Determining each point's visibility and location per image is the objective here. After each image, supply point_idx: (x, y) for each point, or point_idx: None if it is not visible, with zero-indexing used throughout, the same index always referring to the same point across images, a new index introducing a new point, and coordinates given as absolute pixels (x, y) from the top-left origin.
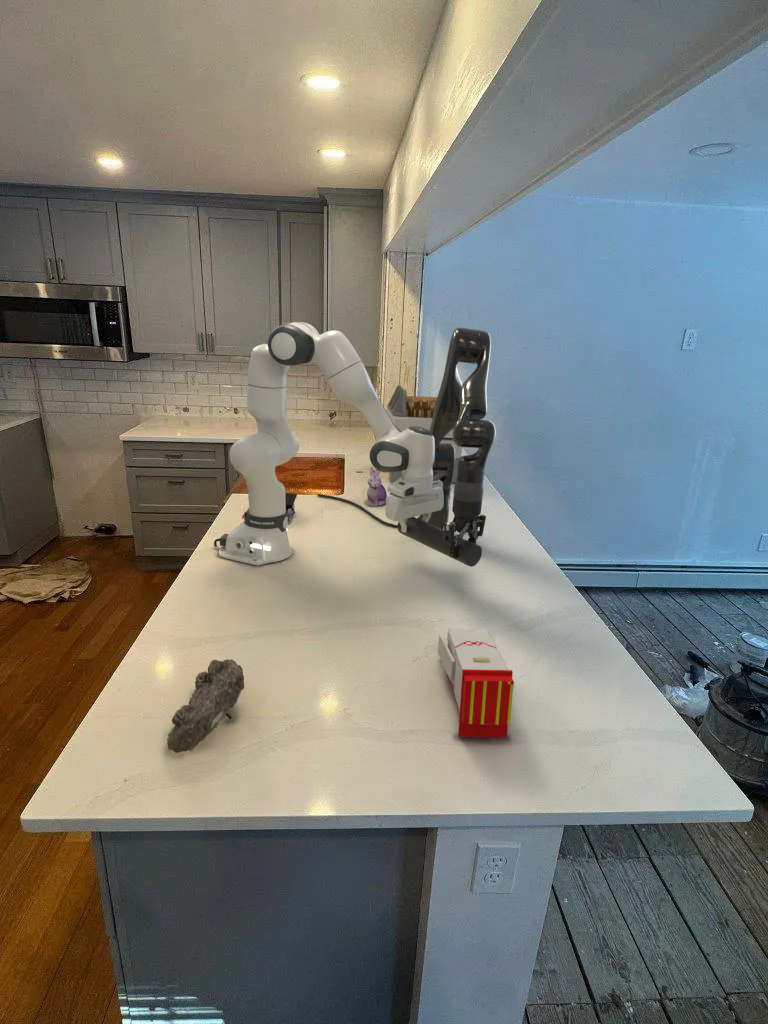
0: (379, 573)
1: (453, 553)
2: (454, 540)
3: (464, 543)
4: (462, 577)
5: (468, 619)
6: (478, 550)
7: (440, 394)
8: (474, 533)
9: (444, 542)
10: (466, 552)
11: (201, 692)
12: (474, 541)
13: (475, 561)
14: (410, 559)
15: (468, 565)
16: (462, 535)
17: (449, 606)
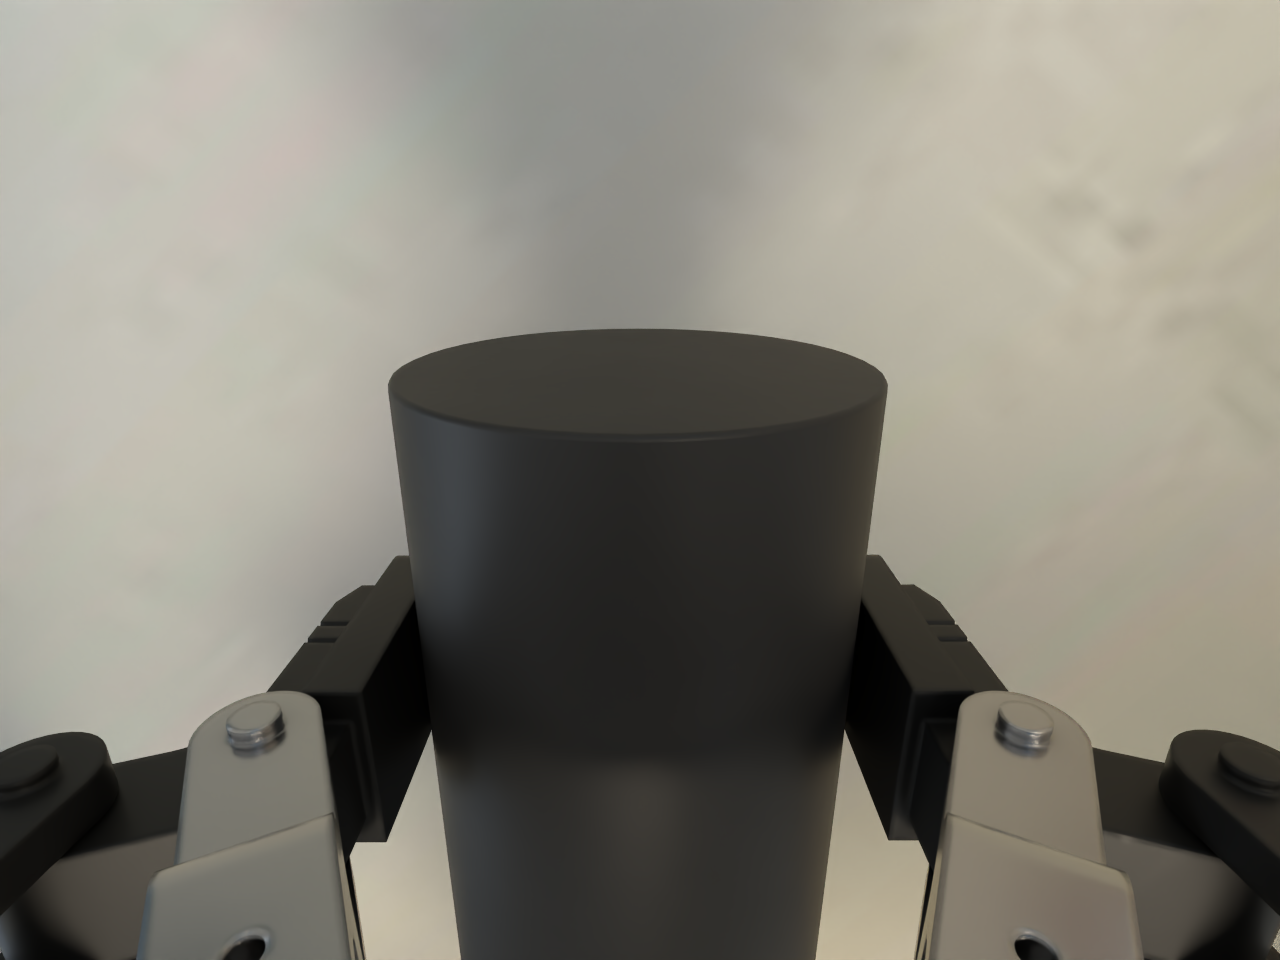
0: (831, 915)
1: (944, 626)
2: (758, 899)
3: (745, 690)
4: None
5: (875, 61)
6: (507, 389)
7: None
8: (334, 850)
9: (816, 946)
10: (875, 442)
11: None
12: (357, 680)
13: (594, 339)
14: None
15: (762, 337)
16: (1028, 909)
17: (820, 332)
